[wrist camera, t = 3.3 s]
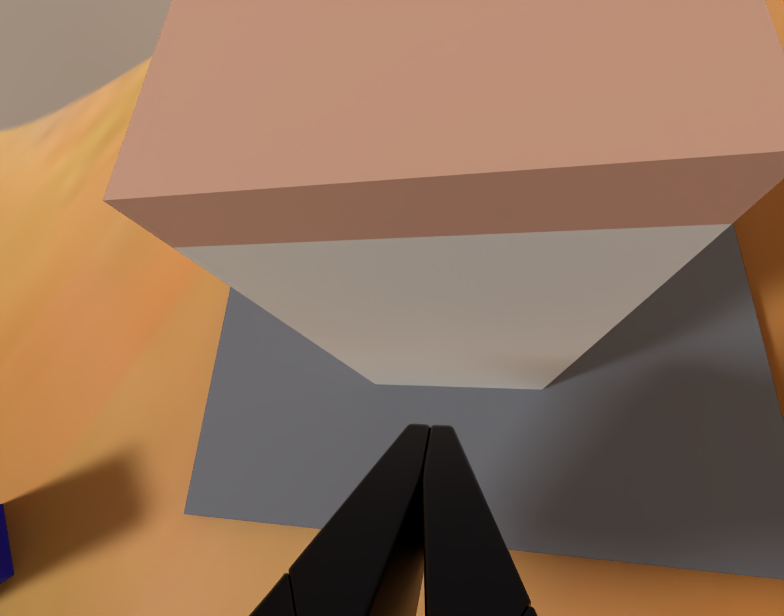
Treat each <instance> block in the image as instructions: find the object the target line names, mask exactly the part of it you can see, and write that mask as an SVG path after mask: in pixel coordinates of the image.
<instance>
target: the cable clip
mask: <svg viewBox="0 0 784 616" xmlns="http://www.w3.org/2000/svg"><path fill="white" fill-rule="evenodd" d="M13 575H14V570H13V564H12V558H11V551H10V545H9V539H8V532H7V526H6V520H5V513H4V507H3V504H0V584H1V583H2V582H4V581H5V580H7V579H8V578H10V577H11V576H13Z"/></svg>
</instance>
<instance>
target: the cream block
mask: <svg viewBox="0 0 784 616" xmlns="http://www.w3.org/2000/svg"><path fill="white" fill-rule="evenodd" d="M783 179H784V52H783V49H782V46H781V44H780V41H779V38H778V35H777V32H776V30H775V27H774V24H773V21H772V18H771V16H770V13H769V10H768V7H767V4H766V2H765V0H172V2H171V5H170V8H169V11H168V14H167V17H166V19H165V23H164V25H163V28H162V31H161V34H160V37H159V40H158V43H157V45H156V48H155V51H154V54H153V57H152V60H151V63H150V66H149V69H148V71H147V74H146V77H145V80H144V83H143V86H142V89H141V92H140V95H139V97H138V100H137V103H136V106H135V109H134V112H133V115H132V118H131V121H130V123H129V126H128V129H127V132H126V135H125V138H124V141H123V144H122V147H121V149H120V152H119V155H118V158H117V161H116V164H115V167H114V170H113V172H112V175H111V178H110V181H109V184H108V187H107V190H106V193H105V196H104V198H103V201H104V202H106V203H107V204H109V205H110V206H112V207H113V208H115V209H116V210H118V211H119V212H121V213H122V214H124V215H125V216H127V217H128V218H130V219H131V220H133V221H134V222H136V223H137V224H139V225H140V226H141V227H143V228H144V229H146V230H147V231H149V232H150V233H152V234H153V235H155V236H156V237H158V238H159V239H161V240H162V241H164V242H165V243H167V244H168V245H170V246H171V247H173V248H174V249H176V250H177V251H179V252H180V253H182V254H183V255H184V256H186V257H187V258H189V259H190V260H192V261H193V262H195V263H196V264H198V265H199V266H201V267H202V268H204V269H205V270H207V271H208V272H210V273H211V274H213V275H214V276H216V277H217V278H219V279H220V280H222V281H223V282H225V283H226V284H227V285H229V286H230V287H232V288H233V289H235V290H236V291H238V292H239V293H241V294H242V295H244V296H245V297H247V298H248V299H250V300H251V301H253V302H254V303H256V304H257V305H259V306H260V307H262V308H263V309H265V310H266V311H268V312H269V313H270V314H272V315H273V316H275V317H276V318H278V319H279V320H281V321H282V322H284V323H285V324H287V325H288V326H290V327H291V328H293V329H294V330H296V331H297V332H299V333H300V334H302V335H303V336H305V337H306V338H308V339H309V340H311V341H312V342H313V343H315V344H316V345H318V346H319V347H321V348H322V349H324V350H325V351H327V352H328V353H330V354H331V355H333V356H334V357H336V358H337V359H339V360H340V361H342V362H343V363H345V364H346V365H348V366H349V367H351V368H352V369H354V370H355V371H356V372H358V373H359V374H361V375H362V376H364V377H365V378H367V379H368V380H370V381H371V382H373V383H374V384H383V385H414V386H445V387H476V388H508V389H539V390H542V389H543V388H545V387H546V386H547V385H548V384H549V383H550V382H551V381H553V380H554V379H555V378H556V377H557V376H558V375H560V374H561V373H562V372H563V371H564V370H565V369H566V368H568V367H569V366H570V365H571V364H572V363H573V362H574V361H576V360H577V359H578V358H579V357H580V356H581V355H582V354H584V353H585V352H586V351H587V350H588V349H589V348H590V347H592V346H593V345H594V344H595V343H596V342H597V341H598V340H600V339H601V338H602V337H603V336H604V335H605V334H606V333H608V332H609V331H610V330H611V329H612V328H613V327H614V326H616V325H617V324H618V323H619V322H620V321H621V320H623V319H624V318H625V317H626V316H627V315H628V314H629V313H631V312H632V311H633V310H634V309H635V308H636V307H637V306H639V305H640V304H641V303H642V302H643V301H644V300H645V299H647V298H648V297H649V296H650V295H651V294H652V293H653V292H655V291H656V290H657V289H658V288H659V287H660V286H661V285H663V284H664V283H665V282H666V281H667V280H668V279H669V278H671V277H672V276H673V275H674V274H675V273H676V272H677V271H679V270H680V269H681V268H682V267H683V266H684V265H686V264H687V263H688V262H689V261H690V260H691V259H692V258H694V257H695V256H696V255H697V254H698V253H699V252H700V251H702V250H703V249H704V248H705V247H706V246H707V245H708V244H710V243H711V242H712V241H713V240H714V239H715V238H716V237H718V236H719V235H720V234H721V233H722V232H723V231H724V230H726V229H727V228H728V227H729V226H730V225H731V224H732V223H734V222H735V221H736V220H737V219H738V218H739V217H740V216H742V215H743V214H744V213H745V212H746V211H747V210H748V209H750V208H751V207H752V206H753V205H754V204H755V203H757V202H758V201H759V200H760V199H761V198H762V197H763V196H765V195H766V194H767V193H768V192H769V191H770V190H771V189H773V188H774V187H775V186H776V185H777V184H778V183H779V182H781V181H782V180H783Z"/></svg>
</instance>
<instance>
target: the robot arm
mask: <svg viewBox="0 0 784 616" xmlns="http://www.w3.org/2000/svg"><path fill="white" fill-rule="evenodd" d="M423 573H424V590H425V616H537V614H536V612H535V609H534V608H533V607H531V601H530V599H529V596H528V594H527V592H526V590H525V587H524V585H523V583H522V581H521V578H520V576H519V574H518V572H517V569H516V567H515V565H514V563H513V560H512V558H511V556H510V553H509V551H508V549H507V547H506V544H505V542H504V540H503V538H502V535H501V533H500V531H499V529H498V526H497V524H496V522H495V520H494V517H493V515H492V513H491V511H490V508H489V506H488V504H487V502H486V499H485V497H484V495H483V492H482V490H481V488H480V486H479V483H478V481H477V479H476V477H475V474H474V472H473V470H472V468H471V465H470V463H469V461H468V459H467V456H466V454H465V452H464V450H463V447H462V445H461V443H460V441H459V438H458V436H457V434H456V431H455V429H454V428H453V427H452V426H451V425H436V424H435V425H432V426H431V427H430V426H429V425H428V424H417V423H411V424H408V425H407V426H406V428H405V429H404V430H403V431H402V432H401V434H400V435H399V436H398V437H397V438H396V440H395V441H394V442H393V443H392V445H391V446H390V447H389V448H388V449H387V451H386V452H385V453H384V454H383V455H382V457H381V458H380V459H379V460H378V461H377V463H376V464H375V465H374V466H373V468H372V469H371V470H370V471H369V472H368V474H367V475H366V476H365V477H364V478H363V480H362V481H361V482H360V483H359V484H358V486H357V487H356V488H355V489H354V491H353V492H352V493H351V494H350V495H349V497H348V498H347V499H346V500H345V501H344V503H343V504H342V505H341V506H340V508H339V509H338V510H337V511H336V512H335V514H334V515H333V516H332V517H331V518H330V520H329V521H328V522H327V523H326V524H325V526H324V527H323V528H322V529H321V531H320V532H319V533H318V534H317V535H316V537H315V538H314V539H313V540H312V541H311V543H310V544H309V545H308V546H307V548H306V549H305V550H304V551H303V552H302V554H301V555H300V556H299V557H298V558H297V560H296V561H295V562H294V563H293V564H292V566H291V567H290V568H289V574H288V573H285V574H284V575H283V576H282V577H281V579H280V580H279V581H278V582H277V583H276V585H275V586H274V587H273V588H272V590H271V591H270V592H269V593H268V594H267V596H266V597H265V598H264V599H263V600H262V601H261V603H260V604H259V605H258V606H257V607H256V608H255V609H254V611H253V612H252V613H251V614H250V615H249V616H416V612H417V606H418V601H419V595H420V590H421V584H422V578H423Z"/></svg>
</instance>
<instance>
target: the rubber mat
mask: <svg viewBox="0 0 784 616" xmlns="http://www.w3.org/2000/svg"><path fill="white" fill-rule="evenodd" d="M411 423H417V424H428V425H429V426H430V427H431V426H432V425H435V424H436V425H451V426H452V427H453V428H454V429H455V431H456V434H457V436H458V438H459V441H460V443H461V445H462V447H463V450H464V452H465V454H466V456H467V459H468V461H469V463H470V465H471V468H472V470H473V472H474V474H475V477H476V479H477V481H478V483H479V486H480V488H481V490H482V492H483V495H484V497H485V499H486V502H487V504H488V506H489V508H490V511H491V513H492V515H493V517H494V520H495V522H496V524H497V526H498V529H499V531H500V533H501V535H502V538H503V540H504V542H505V544H506V547H507V549H509V550H518V551H527V552H536V553H546V554H555V555H564V556H573V557H582V558H591V559H601V560H610V561H619V562H628V563H637V564H646V565H656V566H665V567H674V568H683V569H692V570H701V571H711V572H720V573H729V574H738V575H747V576H756V577H766V578H775V579H784V422H783V418H782V414H781V410H780V406H779V402H778V398H777V394H776V390H775V386H774V382H773V378H772V374H771V370H770V366H769V362H768V358H767V354H766V350H765V346H764V342H763V338H762V335H761V331H760V327H759V323H758V319H757V315H756V311H755V307H754V303H753V299H752V295H751V291H750V287H749V283H748V279H747V275H746V271H745V267H744V263H743V259H742V255H741V252H740V248H739V244H738V240H737V236H736V232H735V228H734V224H733V223H732V224H731V225H730V226H729V227H728V228H727V229H726V230H724V231H723V232H722V233H721V234H720V235H719V236H718V237H716V238H715V239H714V240H713V241H712V242H711V243H710V244H708V245H707V246H706V247H705V248H704V249H703V250H702V251H700V252H699V253H698V254H697V255H696V256H695V257H694V258H692V259H691V260H690V261H689V262H688V263H687V264H686V265H684V266H683V267H682V268H681V269H680V270H679V271H677V272H676V273H675V274H674V275H673V276H672V277H671V278H669V279H668V280H667V281H666V282H665V283H664V284H663V285H661V286H660V287H659V288H658V289H657V290H656V291H655V292H653V293H652V294H651V295H650V296H649V297H648V298H647V299H645V300H644V301H643V302H642V303H641V304H640V305H639V306H637V307H636V308H635V309H634V310H633V311H632V312H631V313H629V314H628V315H627V316H626V317H625V318H624V319H623V320H621V321H620V322H619V323H618V324H617V325H616V326H614V327H613V328H612V329H611V330H610V331H609V332H608V333H606V334H605V335H604V336H603V337H602V338H601V339H600V340H598V341H597V342H596V343H595V344H594V345H593V346H592V347H590V348H589V349H588V350H587V351H586V352H585V353H584V354H582V355H581V356H580V357H579V358H578V359H577V360H576V361H574V362H573V363H572V364H571V365H570V366H569V367H568V368H566V369H565V370H564V371H563V372H562V373H561V374H560V375H558V376H557V377H556V378H555V379H554V380H553V381H551V382H550V383H549V384H548V385H547V386H546V387H545V388H543V389H542V390H539V389H508V388H476V387H445V386H414V385H383V384H374V383H373V382H371V381H370V380H368V379H367V378H365V377H364V376H362V375H361V374H359V373H358V372H356V371H355V370H354V369H352V368H351V367H349V366H348V365H346V364H345V363H343V362H342V361H340V360H339V359H337V358H336V357H334V356H333V355H331V354H330V353H328V352H327V351H325V350H324V349H322V348H321V347H319V346H318V345H316V344H315V343H313V342H312V341H311V340H309V339H308V338H306V337H305V336H303V335H302V334H300V333H299V332H297V331H296V330H294V329H293V328H291V327H290V326H288V325H287V324H285V323H284V322H282V321H281V320H279V319H278V318H276V317H275V316H273V315H272V314H270V313H269V312H268V311H266V310H265V309H263V308H262V307H260V306H259V305H257V304H256V303H254V302H253V301H251V300H250V299H248V298H247V297H245V296H244V295H242V294H241V293H239V292H238V291H236V290H235V289H233V288H232V287H230V292H229V297H228V302H227V307H226V312H225V317H224V321H223V326H222V331H221V336H220V341H219V346H218V350H217V355H216V360H215V365H214V370H213V375H212V379H211V384H210V389H209V394H208V399H207V404H206V408H205V413H204V418H203V423H202V428H201V433H200V437H199V442H198V447H197V452H196V457H195V462H194V467H193V471H192V476H191V481H190V486H189V491H188V496H187V500H186V505H185V510H184V514H188V515H197V516H207V517H216V518H225V519H234V520H243V521H252V522H262V523H271V524H280V525H289V526H298V527H307V528H317V529H322V528H323V527H324V526H325V524H326V523H327V522H328V521H329V520H330V518H331V517H332V516H333V515H334V514H335V512H336V511H337V510H338V509H339V508H340V506H341V505H342V504H343V503H344V501H345V500H346V499H347V498H348V497H349V495H350V494H351V493H352V492H353V491H354V489H355V488H356V487H357V486H358V484H359V483H360V482H361V481H362V480H363V478H364V477H365V476H366V475H367V474H368V472H369V471H370V470H371V469H372V468H373V466H374V465H375V464H376V463H377V461H378V460H379V459H380V458H381V457H382V455H383V454H384V453H385V452H386V451H387V449H388V448H389V447H390V446H391V445H392V443H393V442H394V441H395V440H396V438H397V437H398V436H399V435H400V434H401V432H402V431H403V430H404V429H405V428H406V426H407V425H408V424H411Z"/></svg>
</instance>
